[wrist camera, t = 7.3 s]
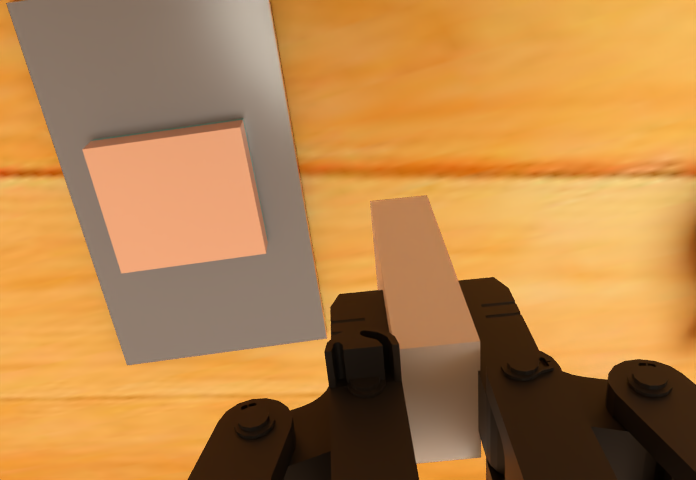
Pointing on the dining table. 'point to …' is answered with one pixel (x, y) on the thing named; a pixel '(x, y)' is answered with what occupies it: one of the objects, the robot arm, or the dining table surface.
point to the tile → (178, 195)
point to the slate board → (171, 112)
